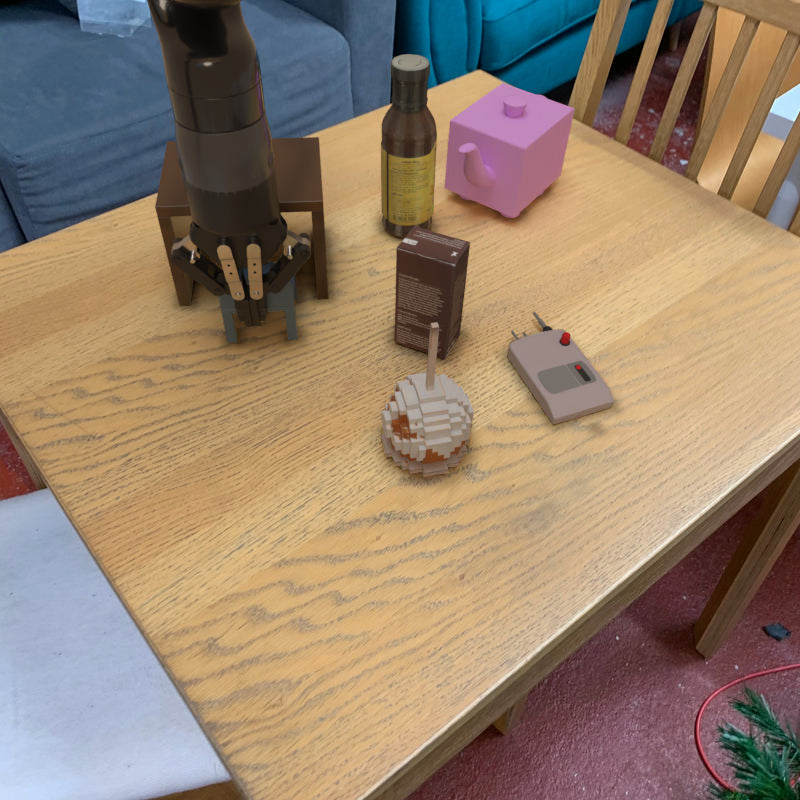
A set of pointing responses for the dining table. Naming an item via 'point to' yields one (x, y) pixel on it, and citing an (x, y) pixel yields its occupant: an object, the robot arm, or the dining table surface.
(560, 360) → the remote control
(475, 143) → the teapot
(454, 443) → the candy apple
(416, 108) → the sauce bottle
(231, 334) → the chair
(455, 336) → the box
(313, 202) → the desk
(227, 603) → the dining table surface
